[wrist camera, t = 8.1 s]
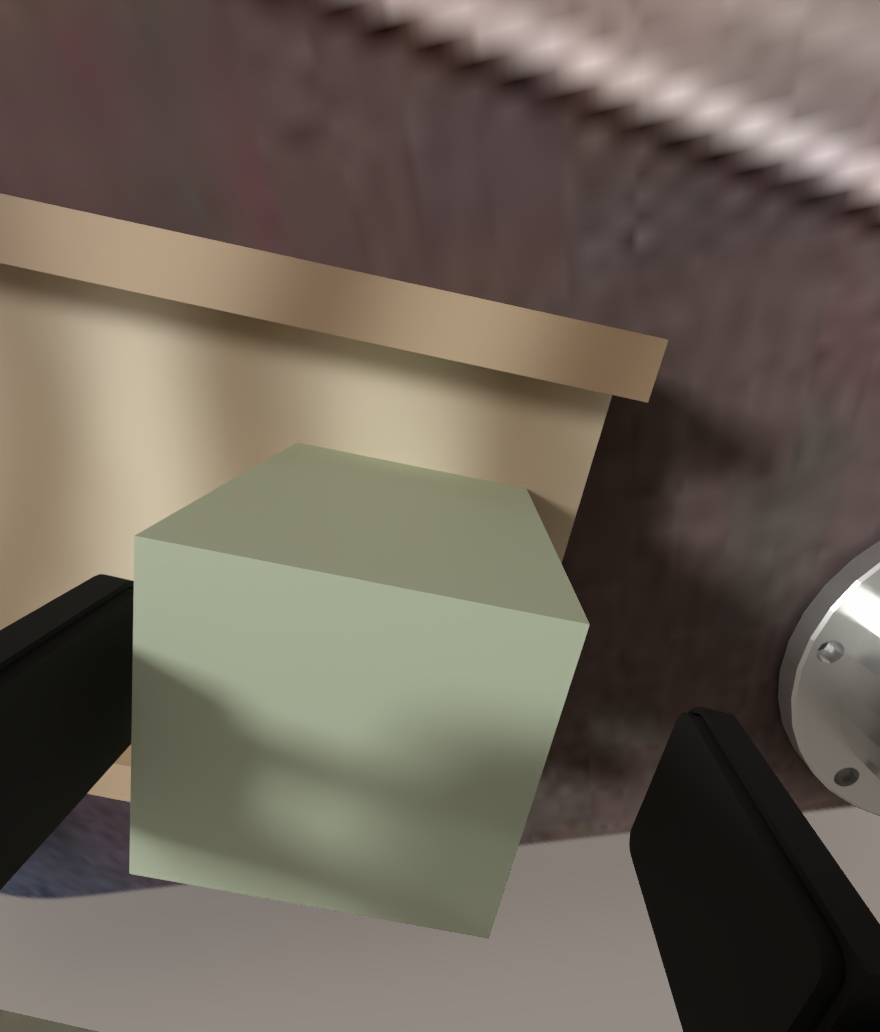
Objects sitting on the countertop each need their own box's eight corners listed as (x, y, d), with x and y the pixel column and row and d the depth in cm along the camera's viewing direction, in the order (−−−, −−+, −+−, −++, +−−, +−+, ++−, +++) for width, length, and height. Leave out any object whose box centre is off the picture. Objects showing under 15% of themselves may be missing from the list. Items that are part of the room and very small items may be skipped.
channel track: (588, 342, 16) (668, 339, 10) (485, 713, 20) (495, 871, 14) (-266, 156, 15) (-750, 28, 9) (-188, 579, 20) (-483, 685, 14)
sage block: (526, 488, 14) (590, 624, 7) (476, 682, 15) (488, 938, 9) (297, 442, 13) (134, 535, 7) (274, 643, 15) (129, 873, 9)
